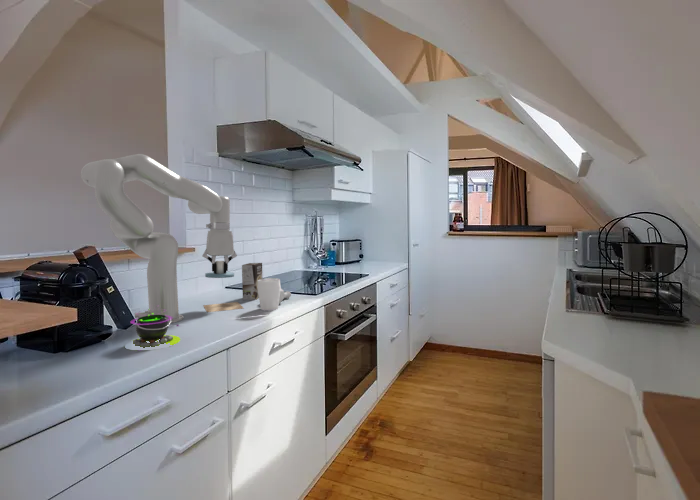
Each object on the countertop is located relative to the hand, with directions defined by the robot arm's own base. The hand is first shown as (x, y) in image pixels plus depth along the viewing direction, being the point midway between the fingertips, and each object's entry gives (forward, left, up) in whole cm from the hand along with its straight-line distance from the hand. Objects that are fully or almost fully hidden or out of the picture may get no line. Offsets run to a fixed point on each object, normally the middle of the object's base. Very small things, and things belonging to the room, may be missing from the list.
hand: (219, 272), depth 162 cm
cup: (+17, -12, -15) cm, 25 cm away
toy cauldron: (-25, -37, -15) cm, 47 cm away
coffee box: (+16, +13, -15) cm, 26 cm away
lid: (0, 0, -2) cm, 2 cm away
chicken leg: (+24, +2, -15) cm, 29 cm away
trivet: (+1, 0, -15) cm, 15 cm away
